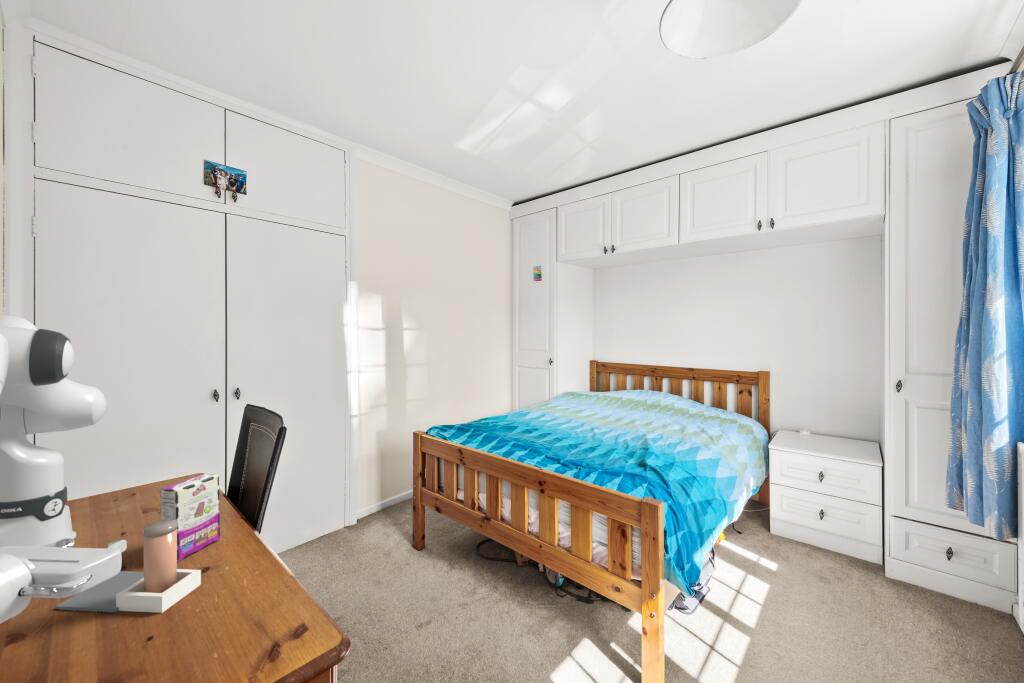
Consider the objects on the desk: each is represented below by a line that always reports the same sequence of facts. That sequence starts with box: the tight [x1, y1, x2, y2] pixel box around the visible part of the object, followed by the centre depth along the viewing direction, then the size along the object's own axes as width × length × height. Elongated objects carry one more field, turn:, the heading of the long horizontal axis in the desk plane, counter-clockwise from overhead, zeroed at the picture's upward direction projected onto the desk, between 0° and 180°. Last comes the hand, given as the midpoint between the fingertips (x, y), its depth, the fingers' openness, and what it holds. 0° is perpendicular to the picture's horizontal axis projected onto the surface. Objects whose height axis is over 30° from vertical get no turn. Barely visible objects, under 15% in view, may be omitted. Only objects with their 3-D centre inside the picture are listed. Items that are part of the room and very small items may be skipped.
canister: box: [142, 520, 178, 593], centre depth 83 cm, size 5×5×14 cm
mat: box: [54, 570, 144, 613], centre depth 85 cm, size 12×12×1 cm
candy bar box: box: [160, 473, 221, 563], centre depth 101 cm, size 11×5×16 cm, turn 168°
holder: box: [116, 568, 202, 614], centre depth 83 cm, size 9×9×3 cm
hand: (96, 543), depth 71 cm, fingers open, 8 cm apart
